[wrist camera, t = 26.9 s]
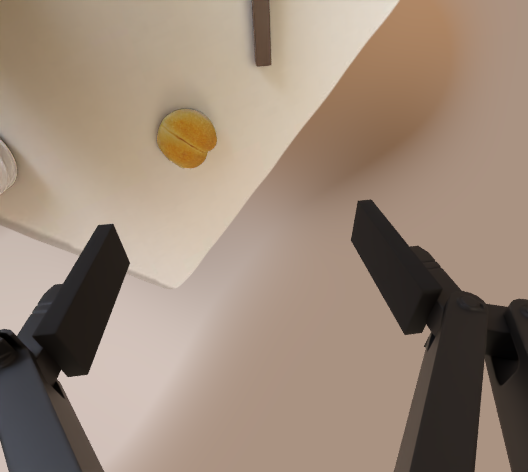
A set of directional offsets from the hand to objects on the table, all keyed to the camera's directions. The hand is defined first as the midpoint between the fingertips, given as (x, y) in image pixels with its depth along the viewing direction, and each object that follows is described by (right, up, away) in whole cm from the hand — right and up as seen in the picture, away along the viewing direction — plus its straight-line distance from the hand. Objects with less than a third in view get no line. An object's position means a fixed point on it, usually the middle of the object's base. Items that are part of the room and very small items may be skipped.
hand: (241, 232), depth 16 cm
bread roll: (-11, +16, +31) cm, 36 cm away
